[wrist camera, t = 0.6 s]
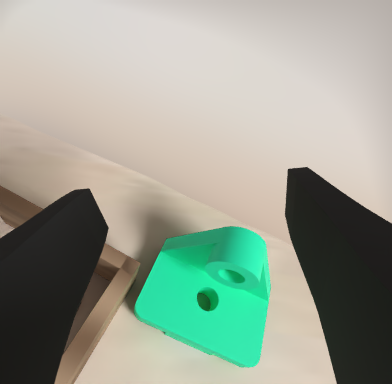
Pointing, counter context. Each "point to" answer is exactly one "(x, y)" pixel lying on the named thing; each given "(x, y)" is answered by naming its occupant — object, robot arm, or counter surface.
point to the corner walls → (107, 305)
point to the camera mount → (211, 293)
